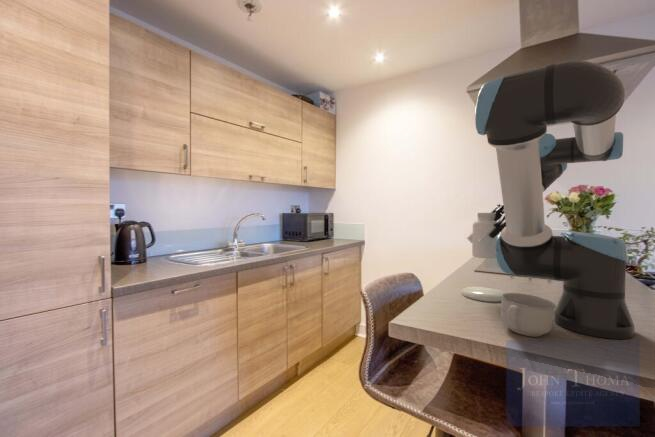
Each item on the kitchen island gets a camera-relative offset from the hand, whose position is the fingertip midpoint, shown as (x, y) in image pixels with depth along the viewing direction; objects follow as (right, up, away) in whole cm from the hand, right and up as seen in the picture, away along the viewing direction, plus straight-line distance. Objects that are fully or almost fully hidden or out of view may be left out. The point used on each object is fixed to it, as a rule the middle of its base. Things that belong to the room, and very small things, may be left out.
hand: (475, 242), depth 103 cm
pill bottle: (+3, -5, 0) cm, 6 cm away
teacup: (-3, -19, -30) cm, 36 cm away
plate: (+3, -18, +1) cm, 18 cm away
